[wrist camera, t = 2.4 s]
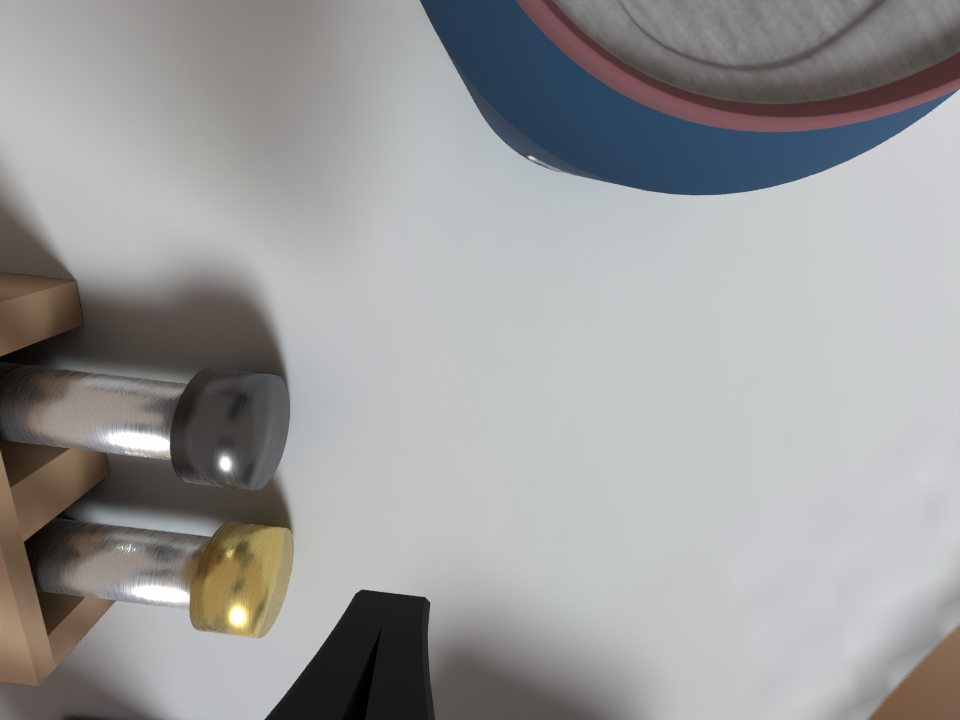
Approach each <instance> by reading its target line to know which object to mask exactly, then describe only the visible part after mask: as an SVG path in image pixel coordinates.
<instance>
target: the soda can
mask: <svg viewBox="0 0 960 720" xmlns="http://www.w3.org/2000/svg"><path fill="white" fill-rule="evenodd" d="M420 1H421V3H422V5H423V7H424V9H425V11H426V13H427V15H428V17H429V19H430V21H431V23H432V25H433V27H434V29H435V31H436V33H437V35H438V36H439V38H440V40H441V42H442V44H443V45H444V47H445V49H446V51H447V53H448V55H449V56H450V58H451V60H452V62H453V64H454V65H455V67H456V69H457V71H458V73H459V75H460V76H461V78H462V80H463V82H464V84H465V85H466V87H467V89H468V91H469V93H470V95H471V96H472V98H473V100H474V102H475V104H476V105H477V107H478V109H479V111H480V112H481V114H482V116H483V117H484V119H485V120H486V121H487V123H488V124H489V126H490V127H491V128H492V129H493V130H494V132H495V133H496V134H497V135H498V136H499V137H500V138H501V139H502V140H503V141H504V142H505V143H506V144H507V145H508V146H510V147H511V148H512V149H513V150H515V151H516V152H517V153H519V154H520V155H522V156H523V157H525V158H527V159H528V160H530V161H532V162H534V163H536V164H538V165H541V166H543V167H545V168H548V169H551V170H555V171H558V172H563V173H567V174H572V175H577V176H581V177H586V178H591V179H595V180H600V181H605V182H609V183H614V184H619V185H623V186H628V187H633V188H637V189H642V190H646V191H653V192H660V193H668V194H681V195H721V194H730V193H740V192H747V191H753V190H758V189H764V188H769V187H773V186H777V185H781V184H784V183H788V182H792V181H796V180H799V179H802V178H805V177H808V176H810V175H813V174H816V173H819V172H822V171H824V170H827V169H829V168H831V167H834V166H836V165H839V164H841V163H843V162H846V161H848V160H850V159H852V158H854V157H856V156H858V155H860V154H862V153H864V152H866V151H868V150H870V149H872V148H874V147H876V146H878V145H879V144H881V143H883V142H884V141H886V140H888V139H889V138H891V137H893V136H895V135H896V134H898V133H900V132H901V131H903V130H904V129H906V128H907V127H909V126H910V125H912V124H913V123H915V122H916V121H918V120H919V119H921V118H922V117H924V116H925V115H926V114H928V113H929V112H931V111H932V110H933V109H935V108H936V107H937V106H938V105H940V104H941V103H942V102H944V101H945V100H946V99H948V98H949V97H950V96H952V95H953V94H954V93H955V92H957V91H958V90H959V89H960V0H420Z"/></svg>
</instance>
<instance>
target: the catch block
mask: <svg viewBox="0 0 960 720" xmlns="http://www.w3.org/2000/svg"><path fill="white" fill-rule="evenodd" d="M81 325H83V319H82V313H81V307H80V302H79V296H78V290H77V284H76V281H71V280H62V279H54V278H45V277H36V276H28V275H19V274H11V273H2V272H0V356H3V355H6V354H8V353H11V352H13V351H16V350H19V349H21V348H24V347H26V346H29V345H31V344H34V343H37V342H39V341H42V340H44V339H47V338H50V337H52V336H55V335H57V334H60V333H62V332H65V331H68V330H70V329H73V328H75V327H78V326H81ZM108 475H109V470H108V465H107V459H106V453H105V452H97V451H88V450H80V449H72V448H63V447H55V446H46V445H38V444H30V443H21V442H13V441H4V440H0V682H4V683H12V684H20V685H28V686H37V687H39V686H40V685H41V684H42V683H43V682H44V681H45V680H46V678H47V677H48V676H49V675H50V674H51V673H52V672H53V671H54V669H55V668H56V667H57V666H58V665H59V664H60V663H61V662H62V660H63V659H64V658H65V657H66V656H67V655H68V654H69V653H70V651H71V650H72V649H73V648H74V647H75V646H76V645H77V644H78V642H79V641H80V640H81V639H82V638H83V637H84V636H85V635H86V633H87V632H88V631H89V630H90V629H91V628H92V627H93V626H94V625H95V623H96V622H97V621H98V620H99V619H100V618H101V617H102V616H103V614H104V613H105V612H106V611H107V610H108V609H109V608H110V607H111V605H112V604H113V603H114V602H115V601H116V600H108V599H100V598H91V597H83V596H75V595H67V594H59V593H50V592H42V591H36V589H35V585H34V581H33V577H32V573H31V569H30V565H29V561H28V557H27V553H26V549H25V546H24V541H25V540H27V539H28V538H29V537H30V536H32V535H33V534H34V533H36V532H37V531H38V530H39V529H41V528H42V527H43V526H44V525H46V524H47V523H48V522H50V521H51V520H52V519H53V518H55V517H56V516H57V515H58V514H60V513H61V512H62V511H63V510H65V509H66V508H67V507H69V506H70V505H71V504H72V503H74V502H75V501H76V500H77V499H79V498H80V497H81V496H83V495H84V494H85V493H86V492H88V491H89V490H90V489H91V488H93V487H94V486H95V485H96V484H98V483H99V482H100V481H102V480H103V479H104V478H105V477H107V476H108Z"/></svg>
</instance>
